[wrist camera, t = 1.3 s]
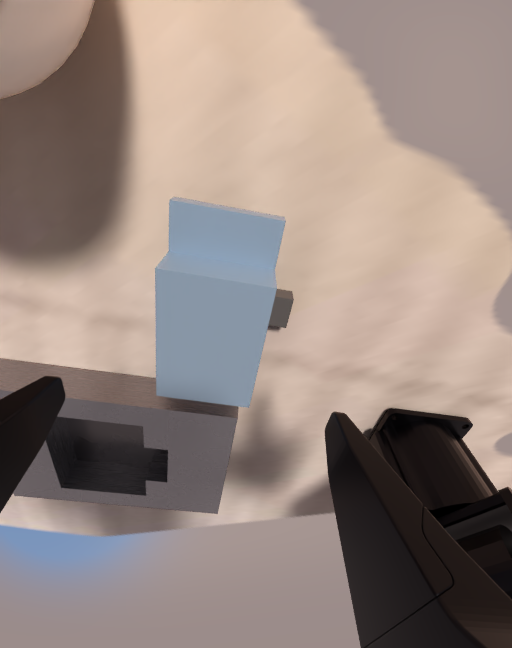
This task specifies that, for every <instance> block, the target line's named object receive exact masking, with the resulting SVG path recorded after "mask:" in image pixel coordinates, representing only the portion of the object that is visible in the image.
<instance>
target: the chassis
mask: <svg viewBox="0 0 512 648" xmlns="http://www.w3.org/2000/svg"><path fill="white" fill-rule="evenodd" d="M47 375H49V376H57V377H60V378H61V379H62V382H63V386H64V390H65V395H66V396H65V401H64V404H63V406H62V408H61V410H60V412H59V414H58V416H57V418H56V420H55V422H54V424H53V426H52V428H51V430H50V432H49V434H48V436H47V438H46V440H45V442H44V444H43V446H42V447H41V449H40V451H39V452H38V454H37V456H36V457H35V459H34V460H33V462H32V464H31V465H30V467H29V468H28V470H27V471H26V473H25V475H24V476H23V478H22V479H21V481H20V483H19V484H18V486H17V487H16V489H15V490H14V492H13V493H14V495H15V496H24V497H35V498H46V499H58V500H69V501H80V502H91V503H103V504H114V505H125V506H136V507H147V508H159V509H170V510H181V511H192V512H204V513H215V514H218V509H219V504H220V500H221V495H222V490H223V485H224V481H225V476H226V471H227V466H228V462H229V457H230V452H231V447H232V442H233V438H234V433H235V428H236V423H237V419H238V406H231V405H224V404H216V403H208V402H201V401H193V400H185V399H177V398H170V397H163V396H156V378H148V377H141V376H133V375H125V374H117V373H110V372H102V371H94V370H86V369H78V368H71V367H63V366H55V365H47V364H39V363H32V362H24V361H16V360H8V359H0V399H1V398H3V397H5V396H7V395H9V394H11V393H13V392H15V391H17V390H19V389H21V388H22V387H24V386H26V385H28V384H30V383H32V382H34V381H36V380H38V379H40V378H42V377H44V376H47Z"/></svg>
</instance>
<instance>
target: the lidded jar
mask: <svg viewBox="0 0 512 648" xmlns="http://www.w3.org/2000/svg"><path fill="white" fill-rule="evenodd" d="M94 2H95V0H0V99H2V98H6V97H10V96H13V95H17V94H20V93H22V92H24V91H26V90H29V89H31V88H33V87H35V86H37V85H39V84H40V83H42V82H43V81H44V80H45V79H47V78H48V77H49V76H50V75H52V74H53V73H54V72H55V71H56V70H58V69H59V68H60V67H61V66H62V65H63V64H64V62H65V61H66V60H67V59H68V57H69V56H70V55H71V54H72V52H73V51H74V50H75V48H76V47H77V45H78V43H79V41H80V39H81V37H82V35H83V33H84V31H85V29H86V27H87V25H88V22H89V18H90V15H91V12H92V9H93V5H94Z"/></svg>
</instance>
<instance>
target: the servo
mask: <svg viewBox="0 0 512 648" xmlns="http://www.w3.org/2000/svg"><path fill="white" fill-rule="evenodd" d="M285 222H286V221H285V218H284V217H281V216H275V215H270V214H265V213H259V212H254V211H248V210H243V209H238V208H232V207H227V206H222V205H216V204H211V203H205V202H200V201H195V200H189V199H184V198H179V197H173V198H171V199H170V202H169V252H168V253H167V254H166V256H165V257H164V258H163V259H162V261H161V262H160V263H159V264H158V265H157V267H156V268H155V291H156V396H163V397H170V398H177V399H185V400H193V401H201V402H208V403H216V404H224V405H231V406H239V407H248V408H249V406H250V401H251V397H252V393H253V388H254V384H255V380H256V376H257V371H258V367H259V363H260V359H261V354H262V350H263V346H264V341H265V337H266V333H267V329H268V325H270V326H276V327H283V328H286V326H287V322H288V319H289V315H290V311H291V308H292V304H293V300H294V299H293V294H292V291H286V290H280V289H277V284H276V276H275V267H276V262H277V258H278V253H279V249H280V244H281V240H282V235H283V231H284V226H285Z"/></svg>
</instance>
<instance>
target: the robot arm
mask: <svg viewBox="0 0 512 648" xmlns="http://www.w3.org/2000/svg"><path fill="white" fill-rule="evenodd" d="M65 396H66V395H65V390H64V386H63V382H62V379H61V378H60V377H57V376H49V375H47V376H44V377H42V378H40V379H38V380H36V381H34V382H32V383H30V384H28V385H26V386H24V387H22V388H21V389H19V390H17V391H15V392H13V393H11V394H9V395H7V396H5V397H3V398H1V399H0V513H1V511H2V509H3V508H4V506H5V505H6V503H7V502H8V500H9V498H10V497H11V495H12V494H13V492H14V490H15V489H16V487H17V486H18V484H19V483H20V481H21V479H22V478H23V476H24V475H25V473H26V471H27V470H28V468H29V467H30V465H31V464H32V462H33V460H34V459H35V457H36V456H37V454H38V452H39V451H40V449H41V447H42V446H43V444H44V442H45V440H46V438H47V436H48V434H49V432H50V430H51V428H52V426H53V424H54V422H55V420H56V418H57V416H58V414H59V412H60V410H61V408H62V406H63V404H64V401H65ZM472 426H473V424H472V423H471V421H470V420H469V419H468V418H464V417H456V416H449V415H441V414H433V413H425V412H417V411H410V410H402V409H390V410H388V411H387V412H386V413H385V415H384V417H383V418H382V420H381V422H380V423H379V425H378V427H377V428H376V430H375V432H374V433H373V435H372V437H371V438H370V440H369V441H368V439H367V438H366V437H365V436H364V435H363V434H362V432H361V431H360V430H359V429H358V428H357V427H356V425H355V424H354V423H353V422H352V421H351V420H350V418H349V417H348V416H347V415H346V414H345V413H340V412H333V413H332V414H331V416H330V418H329V421H328V423H327V425H326V428H325V442H326V454H327V466H328V477H329V483H330V488H331V494H332V499H333V504H334V509H335V514H336V519H337V525H338V530H339V536H340V541H341V546H342V551H343V557H344V562H345V567H346V572H347V577H348V582H349V588H350V593H351V599H352V604H353V609H354V614H355V620H356V625H357V630H358V635H359V640H360V646H361V648H512V490H511V489H510V488H509V487H506V488H503V489H501V490H498V491H499V492H498V491H497V489H496V488H495V486H494V485H493V483H492V482H491V481H490V479H489V478H488V476H487V475H486V473H485V472H484V470H483V469H482V467H481V466H480V465H479V463H478V462H477V460H476V459H475V457H474V456H473V454H472V453H471V451H470V450H469V448H468V447H467V446H466V444H465V443H464V441H463V440H462V438H463V437H464V436H465V435H466V434H467V432H468V431H469V430H470V429H471V428H472Z"/></svg>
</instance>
